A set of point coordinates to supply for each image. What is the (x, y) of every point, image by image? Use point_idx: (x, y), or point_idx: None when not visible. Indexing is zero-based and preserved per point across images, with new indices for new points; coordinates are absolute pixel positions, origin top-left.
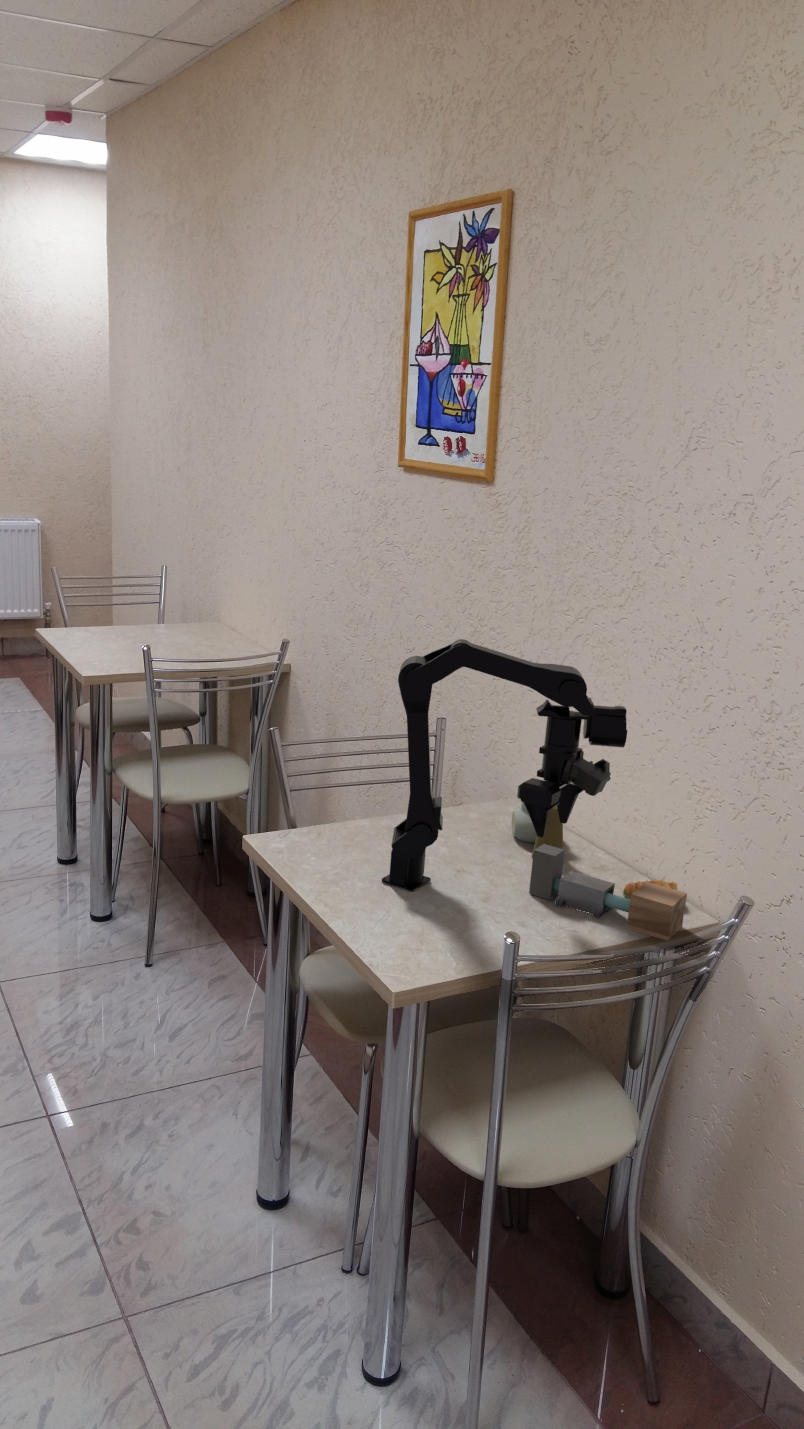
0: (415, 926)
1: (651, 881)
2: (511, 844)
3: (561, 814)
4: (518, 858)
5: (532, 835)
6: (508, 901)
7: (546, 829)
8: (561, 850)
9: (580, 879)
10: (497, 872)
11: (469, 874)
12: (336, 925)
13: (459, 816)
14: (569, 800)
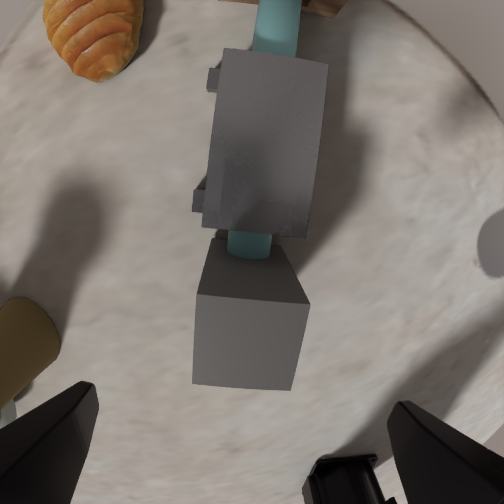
0: (486, 384)
1: (69, 10)
2: (33, 405)
3: (82, 440)
4: None
5: None
6: (341, 328)
7: (9, 386)
8: (217, 303)
9: (267, 169)
10: (184, 402)
11: (237, 435)
12: (490, 434)
13: None
14: (19, 492)
